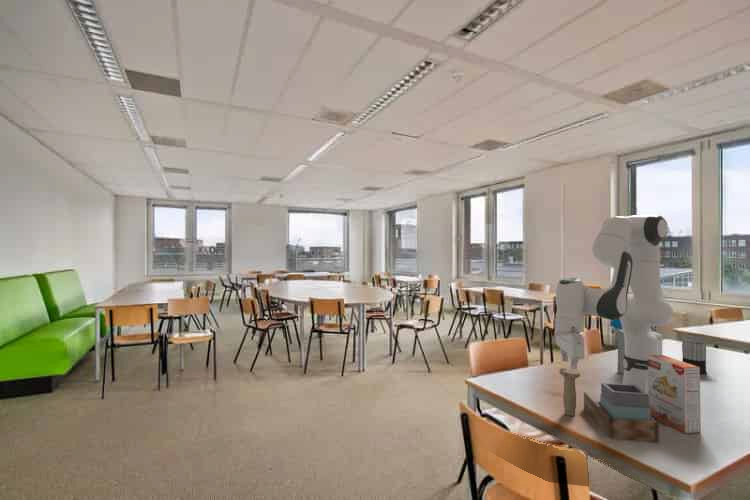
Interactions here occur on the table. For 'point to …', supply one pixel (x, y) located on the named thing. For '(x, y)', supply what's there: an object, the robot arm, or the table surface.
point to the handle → (569, 390)
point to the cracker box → (674, 393)
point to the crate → (625, 401)
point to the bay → (621, 424)
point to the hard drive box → (622, 348)
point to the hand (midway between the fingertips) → (568, 364)
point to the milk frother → (694, 353)
